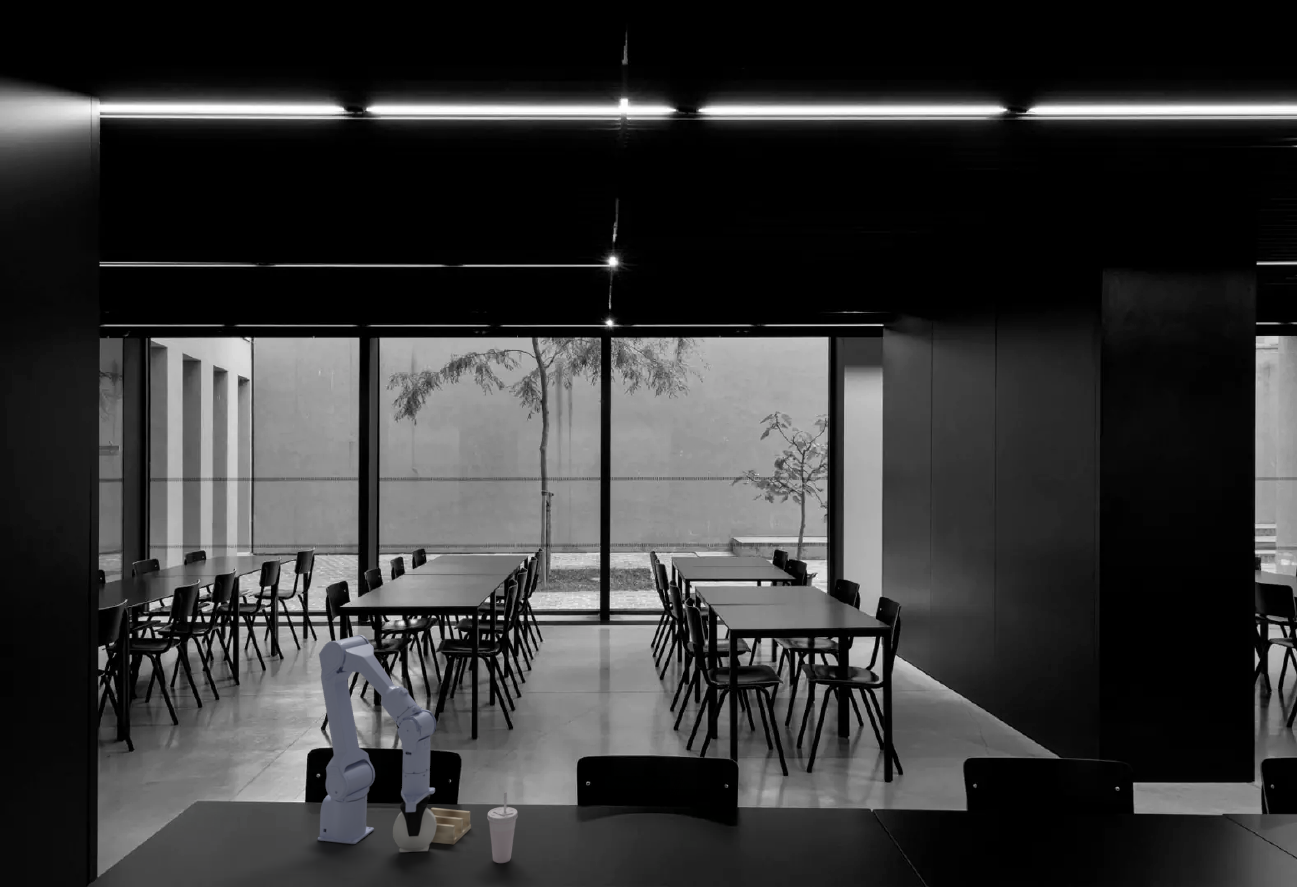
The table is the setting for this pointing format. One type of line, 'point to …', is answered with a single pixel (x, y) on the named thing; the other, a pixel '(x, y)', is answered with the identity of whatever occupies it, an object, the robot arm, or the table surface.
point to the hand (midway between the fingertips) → (414, 833)
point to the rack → (450, 825)
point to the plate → (415, 841)
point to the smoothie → (502, 831)
